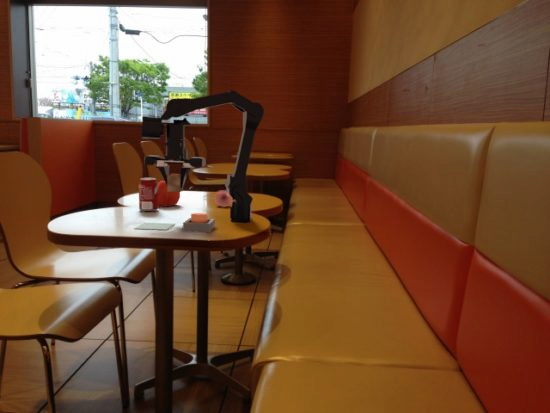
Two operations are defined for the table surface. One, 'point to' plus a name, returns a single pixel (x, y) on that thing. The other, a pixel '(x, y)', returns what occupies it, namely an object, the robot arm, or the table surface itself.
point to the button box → (198, 226)
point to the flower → (223, 198)
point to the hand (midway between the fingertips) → (175, 187)
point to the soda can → (148, 194)
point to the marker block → (174, 183)
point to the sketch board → (155, 226)
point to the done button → (199, 218)
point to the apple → (166, 195)
